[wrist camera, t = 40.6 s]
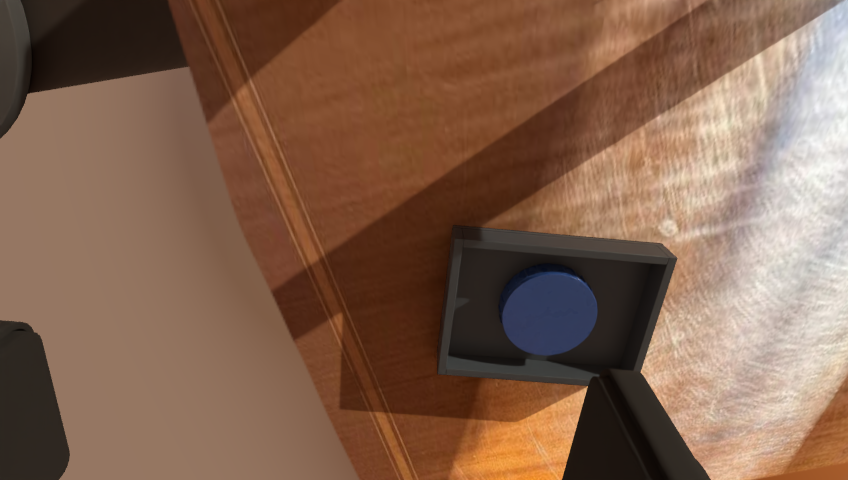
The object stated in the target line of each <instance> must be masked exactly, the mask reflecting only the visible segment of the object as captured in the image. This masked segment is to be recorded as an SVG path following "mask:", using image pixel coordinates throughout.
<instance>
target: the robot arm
mask: <svg viewBox="0 0 848 480" xmlns="http://www.w3.org/2000/svg"><path fill="white" fill-rule="evenodd" d="M69 456H70V453H69V448H68V444H67V439H66V435H65V431H64V428H63V423H62V420H61V415H60V411H59V407H58V403H57V399H56V395H55V391H54V387H53V383H52V379H51V375H50V371H49V367H48V363H47V359H46V355H45V351H44V347H43V343H42V339H41V337H40V335H38V334H37V333H34V331H33V329H32V327H31V326H29V325H28V324H27V323H23V322H14V321H1V320H0V480H59V479H60V477H61V476H62V475H63V473H64V472H65V470H66V468H67V465H68V462H69ZM562 480H711V479H710V478H709V476H708V475H707V473H706V471H705V470H704V468H703V467H702V466H701V465H700V463H699V462H698V461H697V460H696V459H695V458H694V456H693V455H692V453H691V451H690V450H689V448H688V447H687V445H686V443H685V442H684V440H683V439H682V437H681V435H680V434H679V432H678V431H677V429H676V427H675V426H674V424H673V423H672V421H671V419H670V418H669V416H668V415H667V413H666V411H665V410H664V408H663V407H662V405H661V403H660V402H659V400H658V399H657V397H656V395H655V394H654V392H653V390H652V389H651V387H650V386H649V384H648V382H647V381H646V379H645V378H644V376H643V375H642V374H641V373H640V372H638V371H630V370H618V369H604V370H603V371H602V372H601V374H600V376H599V377H598V376H594V377H592V378H591V379H590V382H589V385H588V389H587V392H586V396H585V399H584V403H583V407H582V410H581V414H580V417H579V421H578V425H577V428H576V432H575V435H574V439H573V443H572V446H571V450H570V453H569V457H568V460H567V464H566V468H565V471H564V475H563V478H562Z"/></svg>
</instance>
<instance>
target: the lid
mask: <svg viewBox="0 0 848 480" xmlns="http://www.w3.org/2000/svg"><path fill="white" fill-rule="evenodd" d="M592 292H593V291H592V289H591V288H590V286H589V285H588V284H586V281H585V280H584V278H583V276H582V275H581V276H580V275H579V274H578V273H577V272H575V271H574V270H573V269H570V268H568V267H566V266H563V265H562V264H561V265H558V264H550V263H548V264H540V265H535V266H532V267H529V268H527V269H524V270H523V271H521V272H519V273H518V274H517V275H515V276H513V278H512V279H511V280H510V281H509V282H508V284H506V285H505V288H504V290H503V292H502V294H500V302H499V305H498V308H499V312H500V315H499V317H500V321H501V324H502V325H503V328H504V331H505V334H506V335H507V337H508V338H509V340H510V341H511V342H512V343H513V344H514V345H515V346H517V347H518V348H520V349H521V350H523V351H525V352H528V353H531V354H535V355H545V356H546V355H555V354H560V353H563V352H566V351H569V350H571V349H572V348H574V347H576V346H577V345H579V344H580V343H581V342H582V341H584V340H585V339H586V337H587V336H588V335H589V334H590V332H591V331H592V329H593V327H594V325H595V322H596V318H597V303H596V299H595V297H594V295H593V293H592Z"/></svg>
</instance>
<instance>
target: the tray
mask: <svg viewBox="0 0 848 480" xmlns="http://www.w3.org/2000/svg"><path fill="white" fill-rule="evenodd" d="M676 261H677V257H676V256H675V255H673V254H672V253H671V252H670V251H669V250H668V249H667V248H666V247H665V246H664V245H663V244H661V243H649V242H638V241H627V240H616V239H604V238H593V237H582V236H570V235H559V234H548V233H536V232H525V231H514V230H503V229H491V228H480V227H469V226H457V225H453V229H452V237H451V245H450V253H449V261H448V269H447V277H446V285H445V293H444V301H443V309H442V317H441V325H440V333H439V341H438V349H437V374H442V375H454V376H467V377H480V378H493V379H506V380H518V381H531V382H544V383H557V384H570V385H582V386H588V385H589V382H590V379H591V378H592V377H594V376H598V377H599V376H600V374H601V372H602V371H603V370H604V369H618V370H630V371H638V372H641V369H642V366H643V363H644V359H645V356H646V353H647V350H648V347H649V344H650V341H651V338H652V335H653V332H654V329H655V326H656V322H657V319H658V316H659V313H660V310H661V307H662V304H663V301H664V298H665V295H666V292H667V289H668V286H669V282H670V279H671V276H672V273H673V270H674V267H675V264H676ZM548 263H550V264H558V265H561V264H562V265H563V266H566V267H568V268H570V269H573V270H574V271H575V272H577V273H578V274H579V275H580V276H581V275H582V276H583V278H584V280H585V281H586V284H588V285H589V286H590V288H591V289H592V291H593V292H592V293H593V295H594V297H595V299H596V303H597V318H596V322H595V325H594V327H593V329H592V331H591V332H590V334H589V335H588V336H587V337H586V339H585V340H584V341H582V342H581V343H580V344H579V345H577V346H576V347H574V348H572V349H571V350H569V351H566V352H563V353H560V354H555V355H546V356H545V355H535V354H531V353H528V352H525V351H523V350H521V349H520V348H518V347H517V346H515V345H514V344H513V343H512V342H511V341H510V340H509V338H508V337H507V335H506V334H505V331H504V328H503V325H502V324H501V321H500V317H499V315H500V312H499V308H498V305H499V302H500V294H502V292H503V290H504V288H505V285H506V284H508V282H509V281H510V280H511V279H512V278H513V276H515V275H517V274H518V273H519V272H521V271H523V270H524V269H527V268H529V267H532V266H535V265H540V264H548Z"/></svg>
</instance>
